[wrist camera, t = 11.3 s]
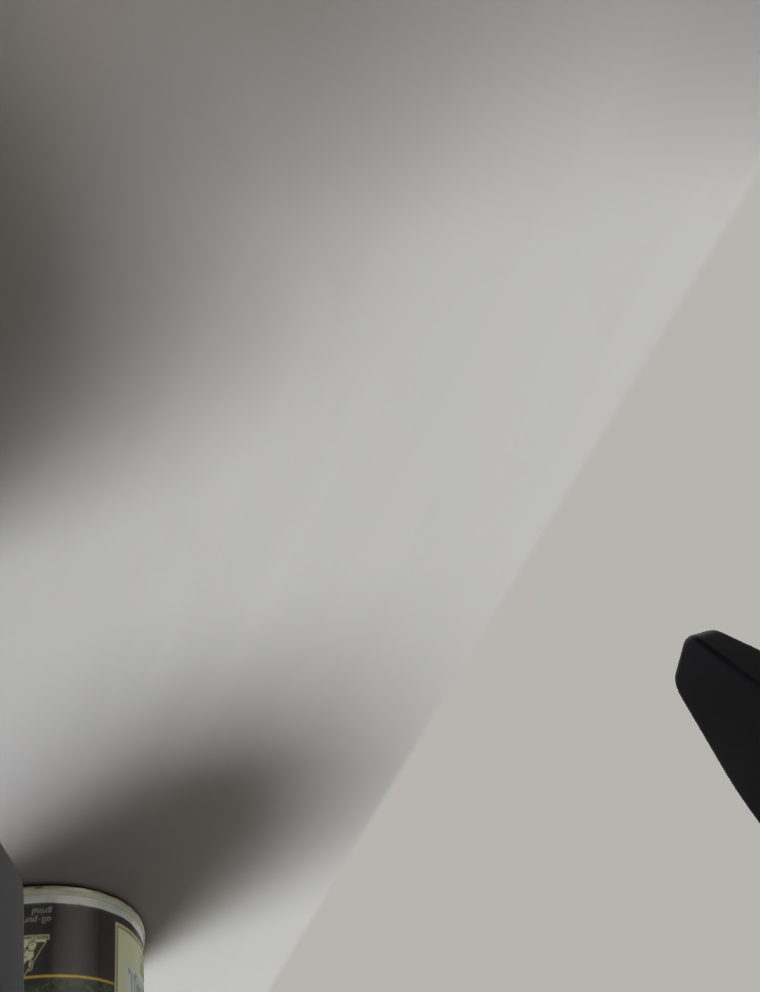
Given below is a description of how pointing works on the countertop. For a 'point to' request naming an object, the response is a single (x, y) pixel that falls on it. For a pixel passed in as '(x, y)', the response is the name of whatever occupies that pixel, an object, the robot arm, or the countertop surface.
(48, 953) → the coffee can
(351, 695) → the countertop surface
